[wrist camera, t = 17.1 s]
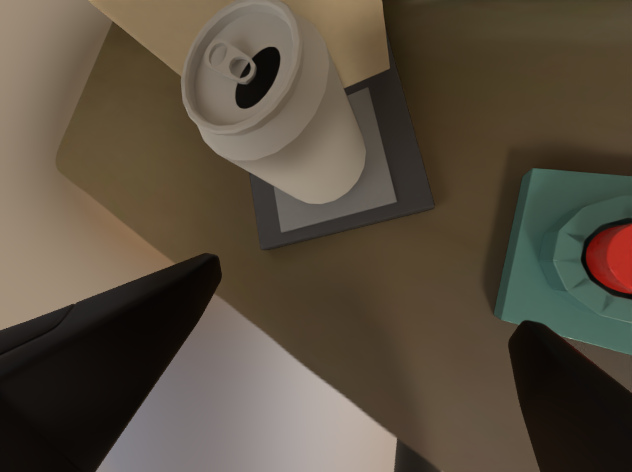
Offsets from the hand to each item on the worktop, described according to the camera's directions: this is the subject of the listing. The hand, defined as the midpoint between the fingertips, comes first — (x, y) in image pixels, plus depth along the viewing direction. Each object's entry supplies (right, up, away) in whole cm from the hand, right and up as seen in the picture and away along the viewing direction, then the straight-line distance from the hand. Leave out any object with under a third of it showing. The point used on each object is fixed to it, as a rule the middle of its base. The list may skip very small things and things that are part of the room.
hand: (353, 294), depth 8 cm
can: (0, +8, +14) cm, 17 cm away
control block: (+16, 0, +9) cm, 19 cm away
